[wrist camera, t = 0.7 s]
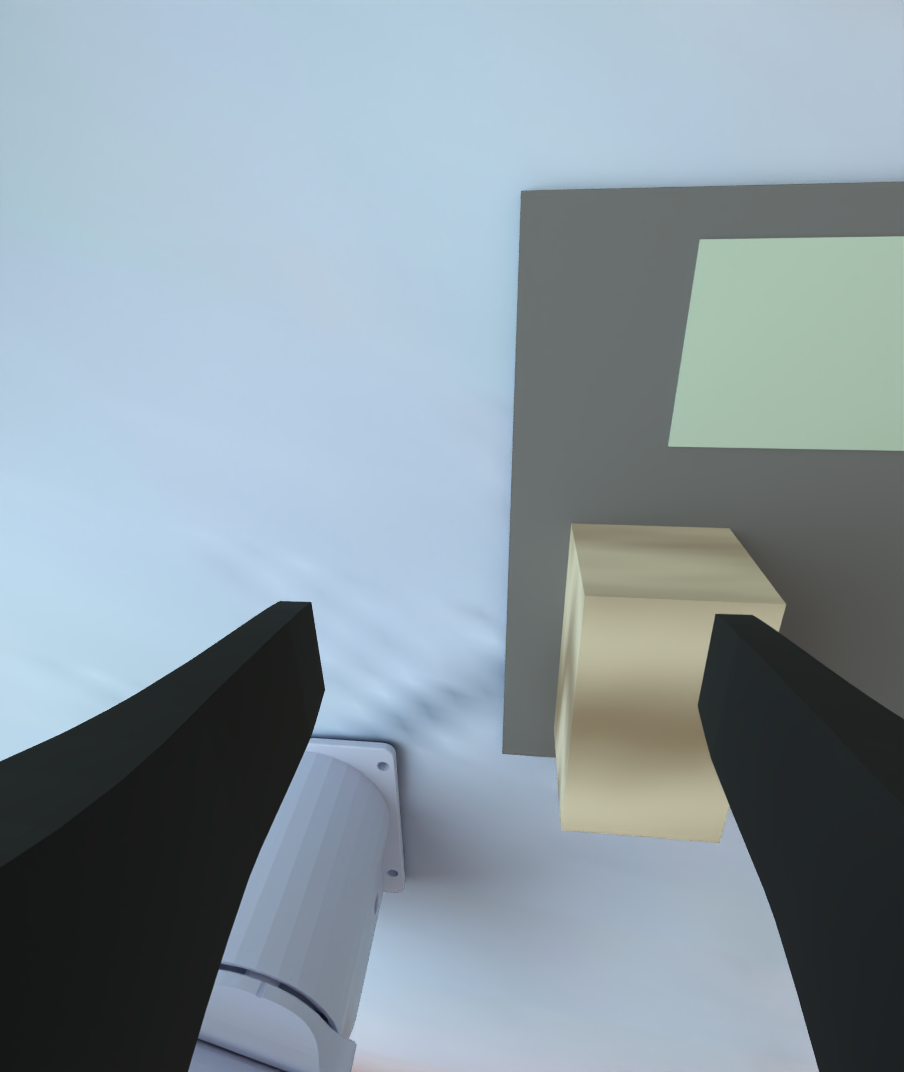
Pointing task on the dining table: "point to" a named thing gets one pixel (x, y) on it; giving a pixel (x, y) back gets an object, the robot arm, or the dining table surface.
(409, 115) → the dining table surface
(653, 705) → the maple block
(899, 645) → the rubber mat
